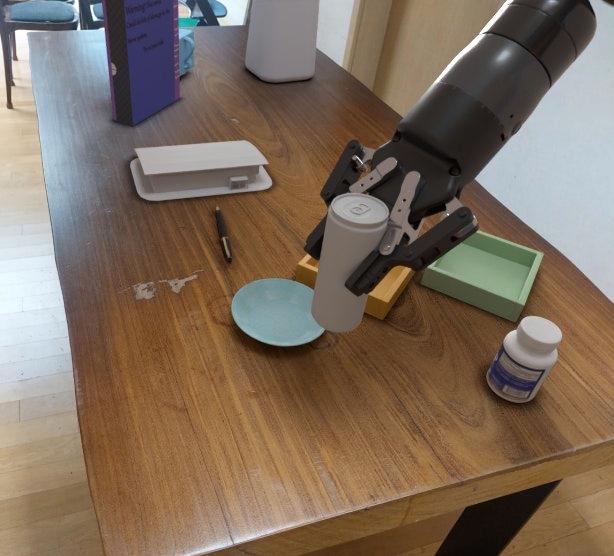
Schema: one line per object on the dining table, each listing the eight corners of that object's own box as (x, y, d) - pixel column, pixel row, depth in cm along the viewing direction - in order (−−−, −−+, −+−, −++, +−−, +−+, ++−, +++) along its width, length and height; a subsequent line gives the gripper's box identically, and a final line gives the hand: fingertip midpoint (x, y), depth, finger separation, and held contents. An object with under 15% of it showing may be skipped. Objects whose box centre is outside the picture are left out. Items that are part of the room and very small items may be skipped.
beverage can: (299, 315, 50) (317, 204, 43) (332, 293, 53) (354, 185, 45) (339, 344, 48) (366, 232, 40) (372, 319, 50) (403, 210, 43)
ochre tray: (418, 267, 77) (424, 250, 75) (382, 320, 67) (388, 302, 66) (338, 235, 81) (342, 218, 80) (294, 281, 72) (297, 263, 71)
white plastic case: (277, 188, 91) (279, 167, 89) (140, 202, 85) (138, 180, 83) (250, 148, 102) (251, 128, 100) (127, 157, 97) (126, 137, 94)
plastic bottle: (265, 86, 128) (276, -51, 110) (239, 65, 139) (245, -63, 121) (319, 80, 134) (339, -51, 116) (290, 60, 144) (304, -63, 126)
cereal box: (161, 94, 121) (157, -28, 105) (179, 98, 119) (177, -24, 104) (113, 120, 108) (100, -13, 93) (133, 126, 107) (123, -8, 92)
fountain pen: (213, 209, 85) (213, 201, 84) (220, 209, 85) (220, 201, 84) (226, 265, 74) (226, 257, 73) (234, 265, 74) (235, 256, 73)
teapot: (208, 69, 135) (209, 21, 128) (176, 93, 121) (175, 40, 114) (151, 58, 138) (149, 11, 131) (114, 80, 125) (109, 28, 118)
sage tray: (535, 269, 78) (544, 253, 76) (515, 322, 69) (524, 305, 67) (449, 238, 83) (455, 222, 81) (420, 284, 74) (426, 266, 72)
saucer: (320, 292, 71) (322, 279, 70) (333, 360, 62) (336, 346, 60) (230, 289, 70) (231, 276, 69) (230, 357, 61) (231, 343, 60)
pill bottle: (504, 361, 63) (534, 305, 58) (544, 391, 60) (580, 335, 54) (475, 378, 61) (504, 322, 55) (515, 411, 58) (550, 355, 52)
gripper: (390, 54, 45) (259, 213, 47) (542, 118, 36) (370, 311, 38) (419, 106, 51) (300, 245, 53) (556, 173, 41) (405, 337, 44)
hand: (330, 272), depth 46 cm, fingers closed on beverage can, 5 cm apart
